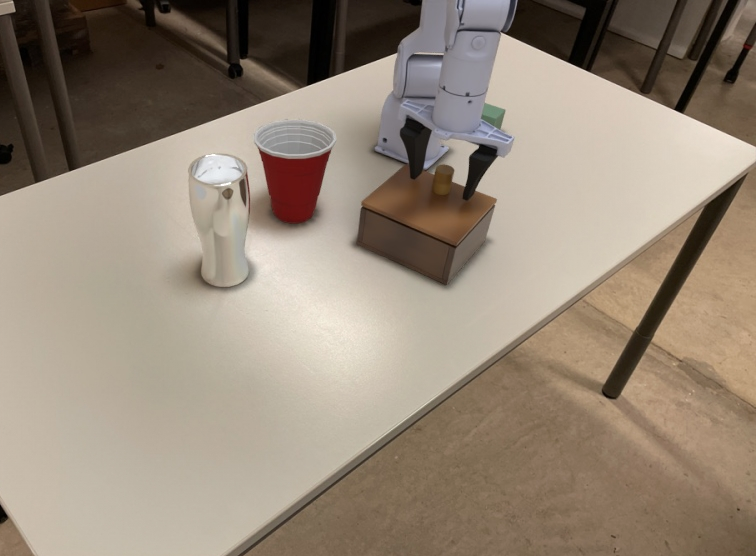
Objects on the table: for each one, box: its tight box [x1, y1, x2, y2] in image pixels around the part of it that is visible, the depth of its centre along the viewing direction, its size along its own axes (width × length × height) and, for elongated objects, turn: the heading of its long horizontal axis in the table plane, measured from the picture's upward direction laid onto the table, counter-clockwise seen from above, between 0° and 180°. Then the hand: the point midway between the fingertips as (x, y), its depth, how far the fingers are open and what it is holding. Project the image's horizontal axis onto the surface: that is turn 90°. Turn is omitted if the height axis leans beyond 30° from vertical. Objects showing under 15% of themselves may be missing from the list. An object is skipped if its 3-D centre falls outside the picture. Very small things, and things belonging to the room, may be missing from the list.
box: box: [356, 204, 496, 286], centre depth 88 cm, size 14×12×6 cm
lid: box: [360, 163, 498, 246], centre depth 84 cm, size 14×12×4 cm
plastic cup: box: [253, 119, 337, 224], centre depth 89 cm, size 11×11×12 cm
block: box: [481, 102, 506, 131], centre depth 110 cm, size 4×4×4 cm
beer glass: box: [187, 152, 251, 288], centre depth 79 cm, size 7×7×15 cm
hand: (441, 185), depth 86 cm, fingers open, 7 cm apart
